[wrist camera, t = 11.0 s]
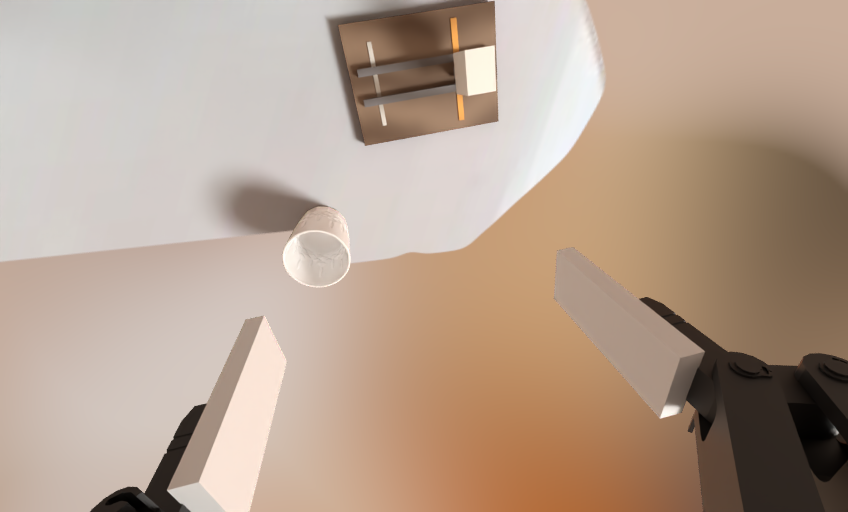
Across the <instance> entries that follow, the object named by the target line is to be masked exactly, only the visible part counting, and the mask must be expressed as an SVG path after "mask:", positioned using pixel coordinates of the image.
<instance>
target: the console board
mask: <svg viewBox="0 0 848 512" xmlns="http://www.w3.org/2000/svg"><path fill="white" fill-rule="evenodd" d="M338 28H339V32H340V36H341V41H342V45H343V50H344V54H345V59H346V63H347V67H348V72H349V76H350V81H351V85H352V90H353V94H354V98H355V103H356V107H357V112H358V116H359V121H360V125H361V129H362V134H363V138H364V143H365V146H367V145H372V144H378V143H383V142H388V141H394V140H399V139H405V138H410V137H416V136H421V135H426V134H432V133H437V132H443V131H448V130H453V129H459V128H464V127H470V126H475V125H481V124H486V123H491V122H497V121H498V97H497V65H496V33H495V1H491V2H484V3H478V4H471V5H465V6H458V7H452V8H445V9H439V10H432V11H426V12H419V13H413V14H406V15H400V16H393V17H387V18H380V19H374V20H367V21H361V22H354V23H348V24H341V25H338ZM494 45H495V71H496V91H493V92H488V93H482V94H476V95H471V96H465V95H459V94H457V93H456V81H455V79H454V71H453V68H454V58H453V53H456V52H460V51H464V50H470V49H476V48H482V47H488V46H494Z"/></svg>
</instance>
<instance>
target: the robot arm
mask: <svg viewBox="0 0 848 512" xmlns="http://www.w3.org/2000/svg"><path fill="white" fill-rule="evenodd" d="M554 299H555V300H556V302H557V303H558V304H559V305H560V306H561V307H562V308H563V309H564V310H565V312H566V313H567V314H568V315H569V316H570V317H571V319H572V320H573V321H574V322H575V323H576V324H577V325H578V326H579V328H580V329H581V330H582V331H583V332H584V333H585V334H586V335H587V337H588V338H589V339H590V340H591V341H592V342H593V343H594V345H595V346H596V347H597V348H598V349H599V350H600V351H601V352H602V354H603V355H604V356H605V357H606V358H607V359H608V360H609V361H610V363H611V364H612V365H613V366H614V367H615V368H616V369H617V370H618V372H619V373H620V374H621V375H622V376H623V377H624V378H625V379H626V381H627V382H628V383H629V384H630V385H631V386H632V387H633V389H634V390H635V391H636V392H637V393H638V394H639V395H640V397H641V398H642V399H643V400H644V401H645V402H646V403H647V404H648V406H649V407H650V408H651V409H652V410H653V411H654V412H655V413H656V415H657V416H658V417H659V418H664V417H667V416H671V415H675V414H678V413H682V411H683V408H684V405H685V402H686V400H687V401H688V402H689V403H690V404H691V405H692V406H693V407H694V408H695V409H696V410H695V413H694V415H693V417H692V420H691V422H690V425H689V428H688V432H691V433H692V432H693V429H694V427H695V434H696V444H697V454H698V465H699V474H700V484H701V495H702V505H703V512H848V361H847V360H844V359H842V358H838V357H836V356H832V355H826V354H820V353H818V354H808V355H806V356H804V357H803V359H802V360H801V362H800V364H799V365H798V366H781V365H767V364H766V363H764V362H763V361H761V360H759V359H757V358H755V357H753V356H750V355H747V354H744V353H738V352H727V351H726V350H724V349H723V348H721V347H720V346H719V345H717V344H716V343H715V342H713V341H712V340H711V339H709V338H708V337H707V336H705V335H704V334H703V333H701V332H700V331H699V330H697V329H696V328H695V327H693V326H692V325H691V324H689V323H686V322H685V320H684V319H682V318H681V317H680V316H678V315H675V313H674V312H673V311H671V310H670V309H669V308H668V307H666V306H665V305H664V304H662V303H660V302H657V301H655V300H653V299H650V298H648V297H645V298H641V299H638V298H637V297H635V296H634V295H633V294H632V293H630V292H629V291H628V290H626V289H625V288H624V287H623V286H621V285H620V284H619V283H618V282H616V281H615V280H614V279H613V278H611V277H610V276H609V275H607V274H606V273H605V272H604V271H602V270H601V269H600V268H599V267H597V266H596V265H595V264H594V263H592V262H591V261H590V260H588V259H587V258H586V257H585V256H583V255H582V254H581V253H580V252H578V251H577V250H576V249H575V248H573V247H571V248H566V249H562V250H557V259H556V276H555V292H554ZM286 363H287V361H286V359H285V357H284V354H283V353H282V350H281V349H280V346H279V344H278V342H277V340H276V339H275V336H274V334H273V332H272V330H271V328H270V326H269V324H268V322H267V320H266V318H265V316H260V317H255V318H251V319H246V320H245V322H244V324H243V327H242V329H241V331H240V333H239V335H238V337H237V340H236V342H235V344H234V346H233V348H232V350H231V353H230V355H229V357H228V359H227V361H226V364H225V365H224V368H223V370H222V372H221V374H220V376H219V378H218V381H217V383H216V385H215V387H214V389H213V391H212V394H211V396H210V398H209V400H208V402H207V404H202V405H198V406H194V408H193V409H192V410H191V411H190V412H189V414H188V415H187V416H186V417H185V418H184V419H183V420H182V422H181V423H180V425H179V427H178V429H177V431H176V433H175V435H174V439H173V440H172V441H171V443H170V445H169V447H168V449H167V453H166V454H164V457H163V459H162V460H161V462H160V464H159V466H158V468H157V470H156V472H155V474H154V476H153V478H152V480H151V482H150V484H149V486H148V488H147V490H146V492H145V494H144V493H143V492H142V491H141V490H140V489H139V488H137V487H126V488H123V489H120V490H118V491H116V492H114V493H113V494H111V495H109V496H108V497H106V498H105V499H103V500H102V501H101V502H100V503H99V504H98V505H96V506H95V507H94V508H93V509H92V510H91V511H90V512H249V511H250V507H251V503H252V499H253V495H254V491H255V487H256V483H257V479H258V475H259V471H260V467H261V463H262V459H263V455H264V451H265V447H266V443H267V439H268V435H269V431H270V427H271V423H272V419H273V415H274V411H275V407H276V403H277V398H278V395H279V391H280V387H281V383H282V379H283V375H284V371H285V367H286Z"/></svg>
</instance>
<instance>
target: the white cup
mask: <svg viewBox="0 0 848 512" xmlns="http://www.w3.org/2000/svg"><path fill="white" fill-rule="evenodd" d="M282 260H283V265H284V267H285V269H286V271H287V273H288V274H289V275H290V276H291V277H292V278H293V279H294V280H296V281H297V282H299V283H301V284H303V285H307V286H311V287H326V286H329V285H333V284H335V283H336V282H338V281H340V280H341V279H342V278H343V277H344V276H345V275H346V273H347V271H348V269H349V267H350V242H349V233H348V227H347V223H346V220H345V218H344V217H343V216H342V215H341V214H340V212H339V211H337V210H335V209H332V208H330V207H315V208H313V209H310V210H308V211H307V212H306V213H305V215H304V216H303V217H302V218H301V220H300V221H299V222H298V224H297V226H296V227H295V229H294V230H293V232H292V234H291V236H290V238H289V240H288V241H287V243H286V245H285V247H284V250H283V253H282Z"/></svg>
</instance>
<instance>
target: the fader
mask: <svg viewBox="0 0 848 512" xmlns="http://www.w3.org/2000/svg"><path fill="white" fill-rule="evenodd" d="M453 58H454V68H453V71H454V79H455V81H456V93H457V94H459V95H465V96H471V95H476V94H482V93H488V92H493V91H496V71H495V45H494V46H488V47H482V48H476V49H470V50H464V51H460V52H456V53H453Z"/></svg>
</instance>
